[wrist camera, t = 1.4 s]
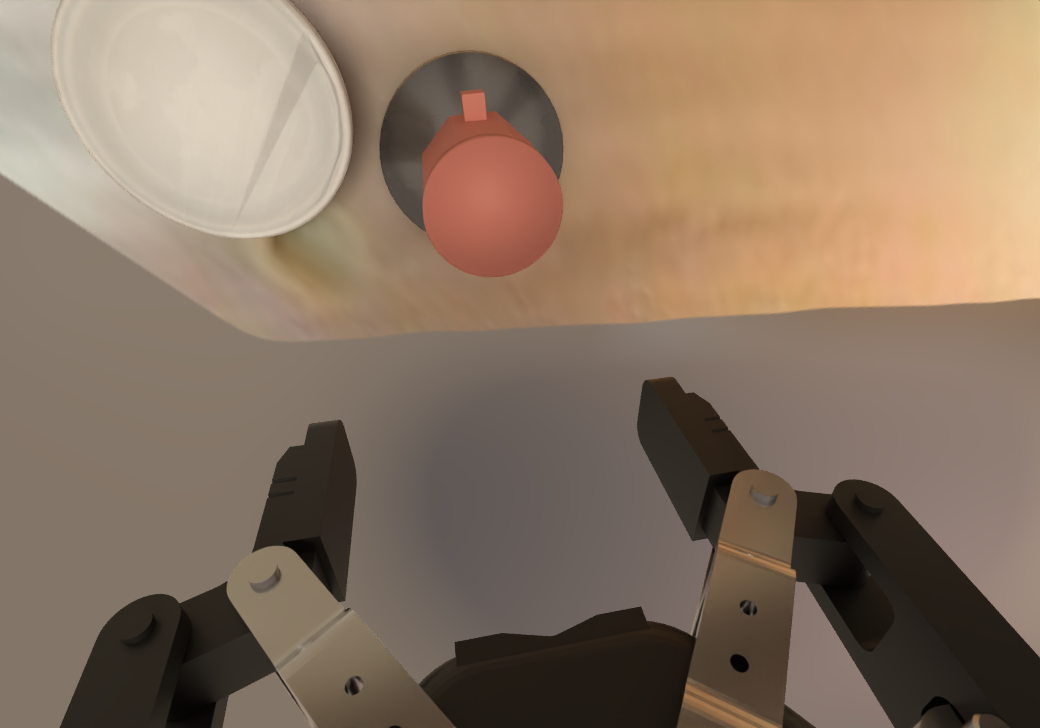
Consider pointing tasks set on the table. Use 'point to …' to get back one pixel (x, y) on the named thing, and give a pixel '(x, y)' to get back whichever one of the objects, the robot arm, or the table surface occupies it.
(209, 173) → the ramekin
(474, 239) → the cap
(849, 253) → the table surface
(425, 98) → the grey lamp
